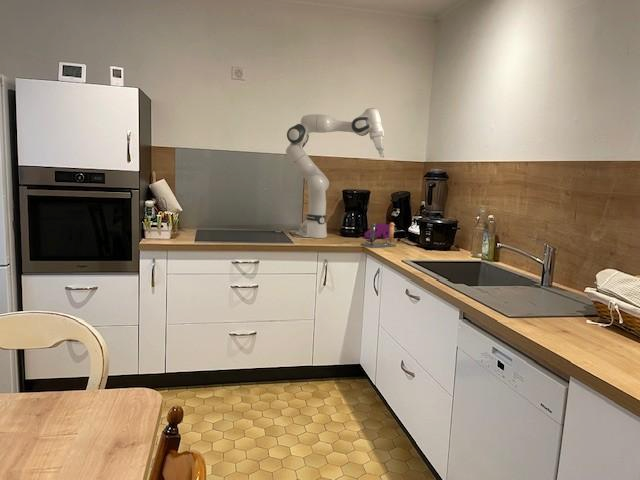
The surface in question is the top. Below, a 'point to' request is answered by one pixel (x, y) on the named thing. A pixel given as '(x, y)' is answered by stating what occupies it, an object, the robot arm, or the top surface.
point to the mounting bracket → (379, 231)
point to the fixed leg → (372, 233)
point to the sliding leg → (391, 232)
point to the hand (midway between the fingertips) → (382, 157)
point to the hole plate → (378, 244)
